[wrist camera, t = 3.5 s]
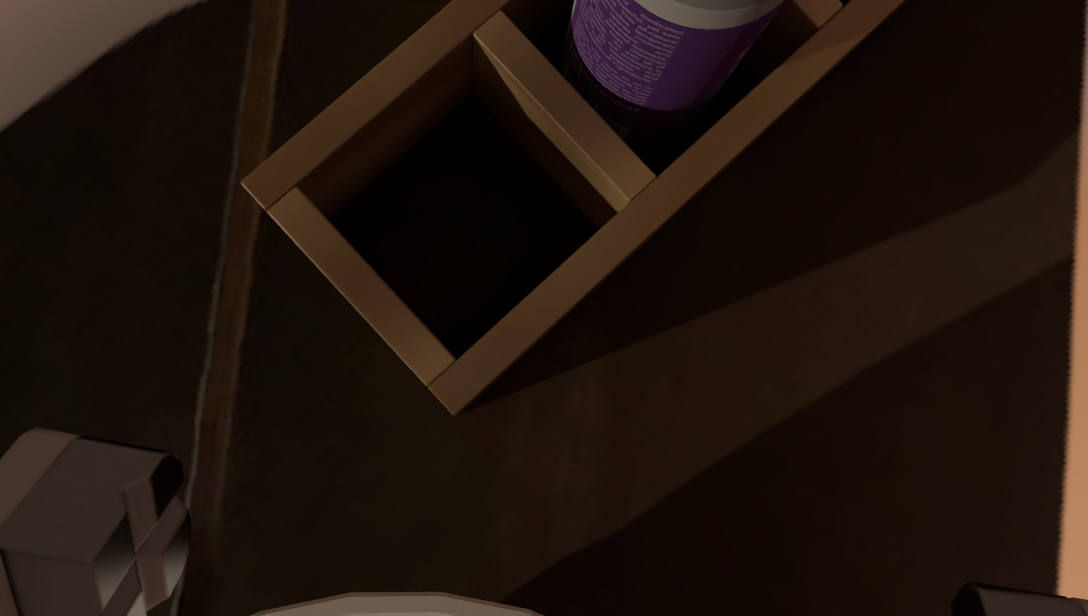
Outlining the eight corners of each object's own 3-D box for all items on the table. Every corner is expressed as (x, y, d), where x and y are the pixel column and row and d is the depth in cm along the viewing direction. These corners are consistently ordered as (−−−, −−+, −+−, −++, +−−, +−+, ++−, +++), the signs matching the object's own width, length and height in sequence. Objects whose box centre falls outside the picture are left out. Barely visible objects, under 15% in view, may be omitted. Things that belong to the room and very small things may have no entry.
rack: (277, 220, 30) (238, 182, 25) (790, -224, 33) (846, -338, 28) (457, 416, 30) (454, 416, 25) (959, -48, 33) (1046, -130, 28)
